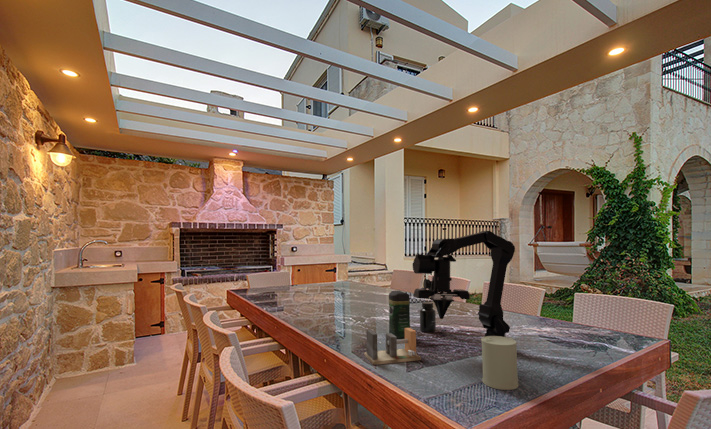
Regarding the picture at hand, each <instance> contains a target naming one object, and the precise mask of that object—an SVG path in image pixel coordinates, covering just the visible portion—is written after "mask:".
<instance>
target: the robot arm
mask: <svg viewBox="0 0 711 429" xmlns="http://www.w3.org/2000/svg"><path fill="white" fill-rule="evenodd" d="M482 243H483V244H484V246H485V247H486V248H487V249H489V250H490V258H491V260H492V267H491V274H490V279H489V285H488V291H487V295H486V301H485V302H484V303H480V304H479V307H478V313H477V316H478V320H479V322H480V323H481V324H482V327H483V329H486V330H485V331H486V332H485V333H484V337H486V336H501V337H507V335H506V334H507V333H509V332H510V329H511V326H510V325H509V324H508V323H507V322H506V321H505V320H504V310H503V308H502V298H503V291H504V285H505V279H506V275H507V274H506V272H507V268H508V265H509V264H510V263H511V261H512V260H513V257H514V255H515V252H516V246H515V245H514V244H513V242H512V241H510V240H507V239H506V238H504V237H502V236H500V235H497V234H495V233H494V232H493V231H491V230H481V231H479V232H475V233H471V234H467V235H463V236H459V237H455V238H437V239H435V240H433V242H432V244H431V247H430V249H429V250H428V251H427V253H426V254H420V253H419V254H418V253H416V254H415V258H414V259H413V263H412V270H413V273H415V274H418V275H419V274H421V275H423V274H424V275H425V274H427V275H428V274H429V275H431V274H433V276H432V278H431V280H430V279H429V278H428V279H424V280H423V282H422V284H423V288H415V289H414V292H413V296H414V297H415V298H416V299H417V298H418V299H423V300H424V299H425V300H426V299H429V300H432V301H433V302H432V303H433V304H434V306H435V307H436V311H437V314H438V318H439V319H441V320H443V319H444V318H445V316H446V313H447V311H448V309H449V307H450V305H451V304H452V302H453V303H454V302H455V299H453V298H460V299H461V300H470V296H471V294H470V292H469V290H465V289H458V288H457V289H455V288H454V289H453V290H452V288H451V282H452V281H453V280H452V277H451V263H452V262H453V263H456V262H457V259H455V257H453V254H454V253H456V252H457V251H458V250H460V249H462V248H466V247H470V246H474V245H478V244H482Z"/></svg>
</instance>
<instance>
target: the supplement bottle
mask: <svg viewBox="0 0 711 429" xmlns="http://www.w3.org/2000/svg"><path fill="white" fill-rule="evenodd" d="M436 315H437V314H436V310H435V308H434V302H429V301H425V302H422V303H421V309H420V310H419V330H420V331H421V332H422V333H423V332H424V333H434V332H436V330H437V325H436V324H437V320H436Z"/></svg>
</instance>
